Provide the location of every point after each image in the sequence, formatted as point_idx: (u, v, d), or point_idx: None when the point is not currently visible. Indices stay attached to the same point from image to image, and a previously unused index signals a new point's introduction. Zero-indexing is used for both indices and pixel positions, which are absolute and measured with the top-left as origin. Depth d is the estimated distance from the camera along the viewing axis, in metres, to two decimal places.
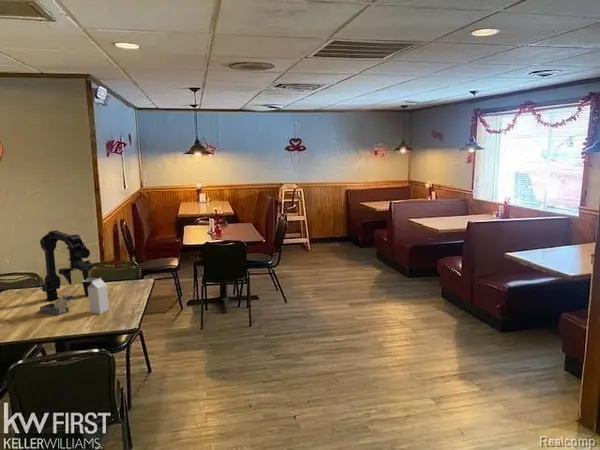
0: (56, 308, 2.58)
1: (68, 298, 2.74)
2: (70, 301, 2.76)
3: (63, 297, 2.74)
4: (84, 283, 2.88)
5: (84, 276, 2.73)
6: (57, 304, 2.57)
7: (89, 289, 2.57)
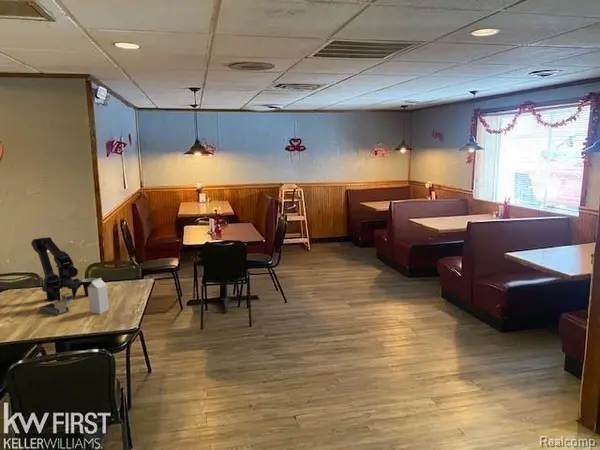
0: (56, 308, 2.58)
1: (68, 298, 2.74)
2: (70, 301, 2.76)
3: (63, 297, 2.74)
4: (84, 283, 2.88)
5: (73, 293, 2.80)
6: (57, 304, 2.57)
7: (89, 289, 2.57)
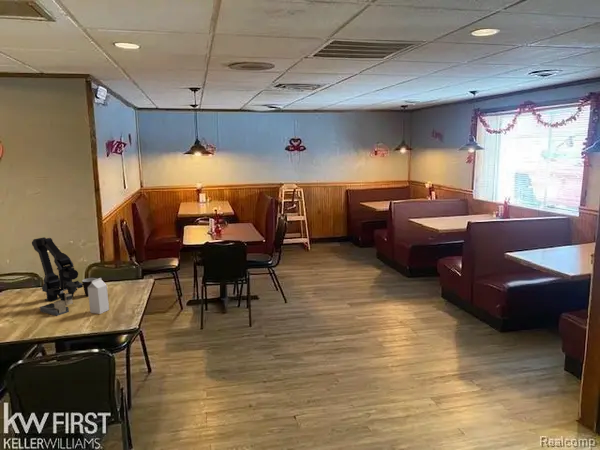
0: (56, 308, 2.58)
1: (68, 298, 2.74)
2: (70, 301, 2.76)
3: None
4: (84, 283, 2.88)
5: None
6: (57, 304, 2.57)
7: (89, 289, 2.57)
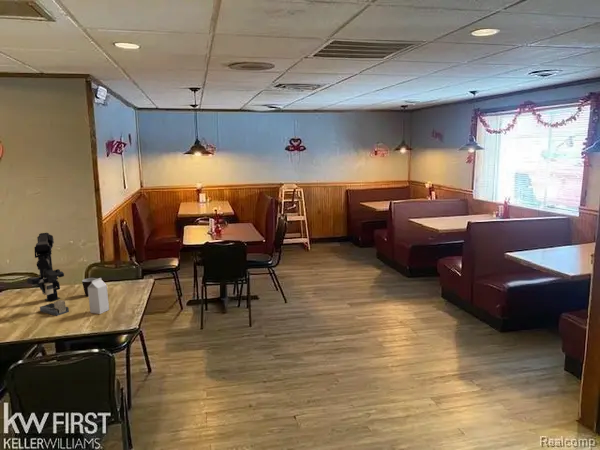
0: (56, 308, 2.58)
1: (48, 287, 2.62)
2: (51, 290, 2.64)
3: None
4: (84, 283, 2.88)
5: None
6: (57, 304, 2.57)
7: (89, 289, 2.57)
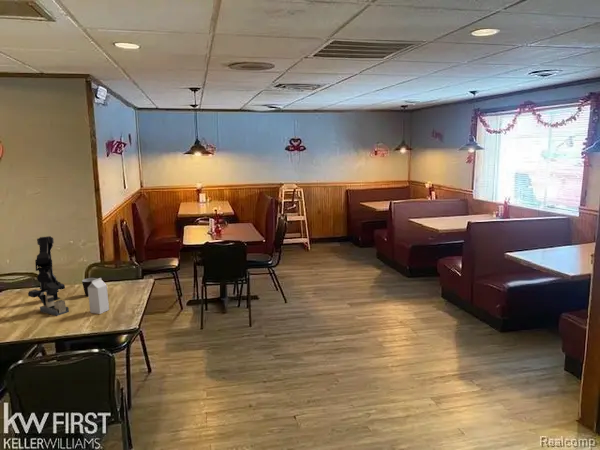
0: (56, 308, 2.58)
1: (49, 300, 2.63)
2: (51, 303, 2.65)
3: None
4: (84, 283, 2.88)
5: None
6: (57, 304, 2.57)
7: (89, 289, 2.57)
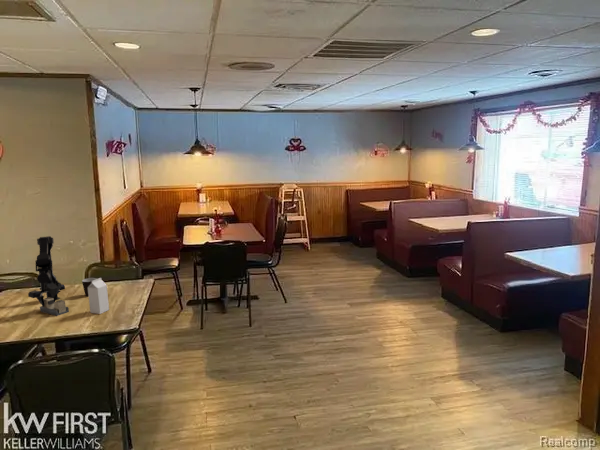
0: (56, 308, 2.58)
1: (49, 302, 2.63)
2: (52, 305, 2.65)
3: (44, 301, 2.64)
4: (84, 283, 2.88)
5: None
6: (57, 304, 2.57)
7: (89, 289, 2.57)
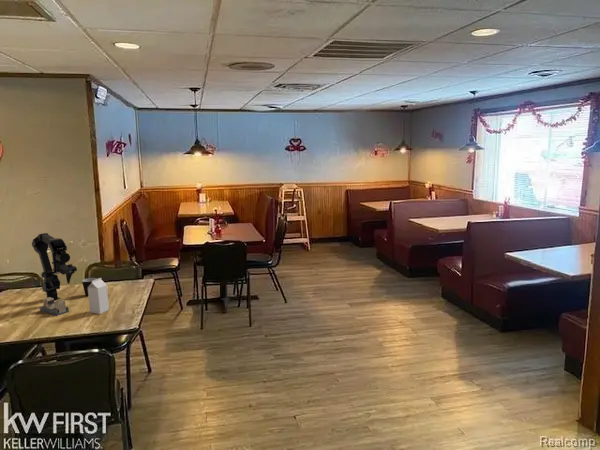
0: (56, 308, 2.58)
1: (49, 302, 2.63)
2: (52, 305, 2.65)
3: (44, 301, 2.64)
4: (84, 283, 2.88)
5: (67, 279, 2.77)
6: (57, 304, 2.57)
7: (89, 289, 2.57)
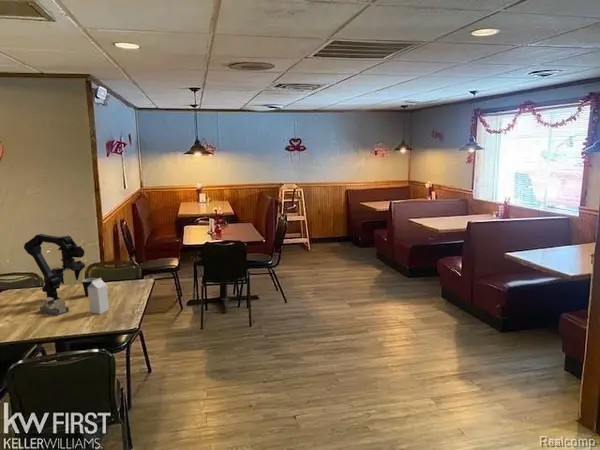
0: (56, 308, 2.58)
1: (49, 302, 2.63)
2: (52, 305, 2.65)
3: (44, 301, 2.64)
4: (84, 283, 2.88)
5: (76, 276, 2.84)
6: (57, 304, 2.57)
7: (89, 289, 2.57)
